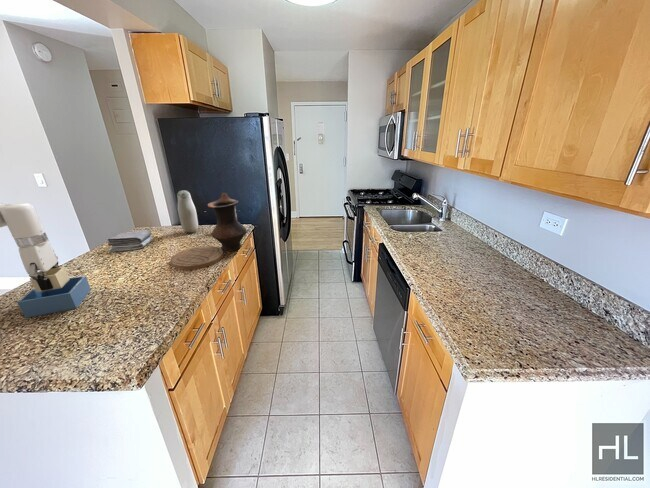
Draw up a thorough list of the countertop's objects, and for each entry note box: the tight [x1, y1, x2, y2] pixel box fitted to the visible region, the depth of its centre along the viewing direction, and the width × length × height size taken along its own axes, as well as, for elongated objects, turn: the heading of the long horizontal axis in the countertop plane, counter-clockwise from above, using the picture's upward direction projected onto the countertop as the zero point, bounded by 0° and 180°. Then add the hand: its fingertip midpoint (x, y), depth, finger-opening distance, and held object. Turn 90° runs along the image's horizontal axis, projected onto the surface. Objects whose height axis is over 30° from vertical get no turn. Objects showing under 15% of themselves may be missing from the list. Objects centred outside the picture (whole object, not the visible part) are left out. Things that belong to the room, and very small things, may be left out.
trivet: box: [169, 245, 225, 271], centre depth 135 cm, size 25×25×2 cm
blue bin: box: [16, 275, 92, 319], centre depth 98 cm, size 14×14×7 cm
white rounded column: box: [176, 189, 199, 234], centre depth 169 cm, size 10×10×28 cm
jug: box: [207, 192, 248, 253], centre depth 144 cm, size 21×18×30 cm
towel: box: [107, 229, 154, 253], centre depth 151 cm, size 15×18×8 cm
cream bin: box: [29, 266, 71, 292], centre depth 96 cm, size 7×7×6 cm
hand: (52, 283), depth 96 cm, fingers closed on cream bin, 7 cm apart
